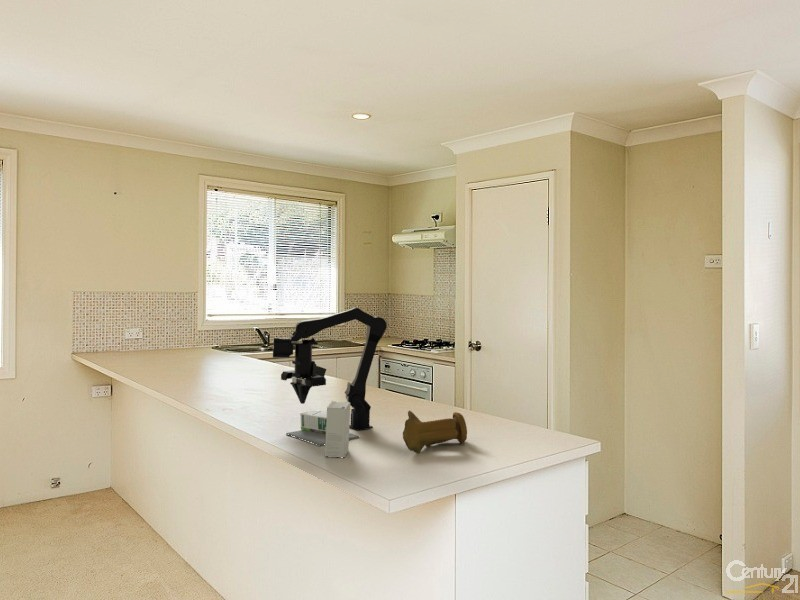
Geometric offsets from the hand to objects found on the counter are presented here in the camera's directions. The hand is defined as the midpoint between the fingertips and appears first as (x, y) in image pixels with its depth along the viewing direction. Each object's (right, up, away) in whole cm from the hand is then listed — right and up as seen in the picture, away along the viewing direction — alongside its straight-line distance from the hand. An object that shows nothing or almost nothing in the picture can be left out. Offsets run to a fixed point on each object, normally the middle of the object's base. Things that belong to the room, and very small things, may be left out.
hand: (302, 403), depth 200 cm
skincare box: (+15, -10, -28) cm, 33 cm away
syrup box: (+1, -5, 0) cm, 5 cm away
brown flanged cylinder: (+43, -11, -18) cm, 48 cm away
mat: (+8, -9, -8) cm, 15 cm away
